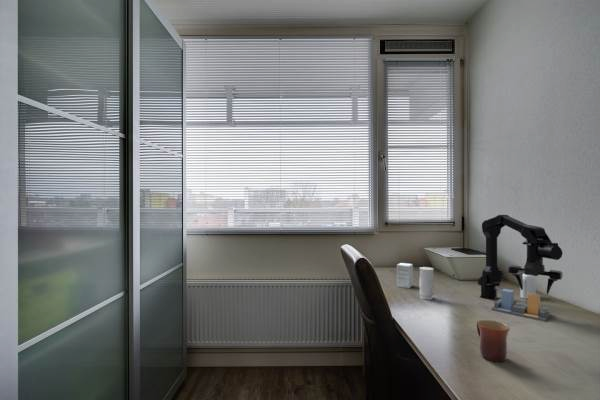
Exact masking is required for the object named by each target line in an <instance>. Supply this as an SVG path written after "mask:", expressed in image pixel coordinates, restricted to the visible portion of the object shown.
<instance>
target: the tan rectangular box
mask: <svg viewBox="0 0 600 400" xmlns="http://www.w3.org/2000/svg"><path fill="white" fill-rule="evenodd" d="M526 301H527V302H526V303H527V313H529V314H533V315H539V314H540V311H541V294H537V293H536V294H532V293H529V294H528V295H527V300H526Z"/></svg>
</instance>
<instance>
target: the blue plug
mask: <svg viewBox="0 0 600 400" xmlns="http://www.w3.org/2000/svg"><path fill="white" fill-rule="evenodd" d="M514 292H515V290H514V289H507V288H503V289H502V290H501V293H500V295H501V298H500V299H501V308H504V309H509V310H512V306H513V305H514V304H515V303H514V301H515V300H514V299H515V293H514Z"/></svg>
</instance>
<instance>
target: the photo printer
mask: <svg viewBox="0 0 600 400" xmlns="http://www.w3.org/2000/svg"><path fill="white" fill-rule="evenodd" d="M522 277H523V290H521V288H520V287H519V297H520V298H521V299H525V300H526V299H527V295H528V294H529V293H532V294H537V292H536V291H537V289H536V288H537V284H536V283H537V276H533V275H526V274H525V273H522Z"/></svg>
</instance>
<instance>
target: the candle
mask: <svg viewBox="0 0 600 400" xmlns="http://www.w3.org/2000/svg"><path fill="white" fill-rule="evenodd" d="M434 269H435V268H433V267H428V266H422V267H421V266H420V267H419V278H418V279H419V280H418V281H419V283H418V284H419V285H418V287H419V291H418V292H419V295H420V296H419V298H420V299H422V300H429V301H430V300H433V296H434V281H435V279H434Z"/></svg>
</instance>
